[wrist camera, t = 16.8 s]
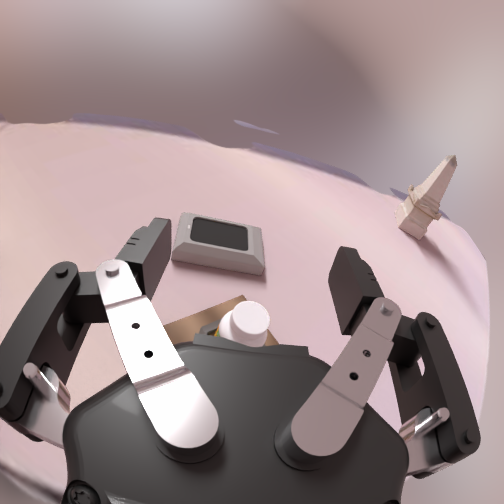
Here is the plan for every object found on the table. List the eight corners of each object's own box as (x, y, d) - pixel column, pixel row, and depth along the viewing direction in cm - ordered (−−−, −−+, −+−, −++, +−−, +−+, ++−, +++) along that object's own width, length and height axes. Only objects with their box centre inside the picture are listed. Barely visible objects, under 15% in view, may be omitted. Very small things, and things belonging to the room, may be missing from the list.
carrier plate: (211, 425, 27) (214, 423, 26) (156, 331, 33) (156, 324, 32) (296, 373, 35) (302, 368, 34) (241, 298, 42) (244, 290, 40)
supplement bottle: (199, 351, 33) (214, 312, 26) (228, 328, 36) (249, 286, 30) (230, 381, 31) (254, 351, 24) (257, 355, 35) (286, 319, 28)
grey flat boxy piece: (267, 262, 44) (173, 245, 40) (259, 277, 47) (170, 261, 43) (263, 224, 51) (182, 207, 47) (257, 238, 53) (179, 222, 50)
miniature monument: (420, 241, 77) (472, 170, 57) (397, 227, 77) (448, 150, 57) (415, 224, 85) (460, 158, 64) (393, 211, 85) (437, 140, 65)
